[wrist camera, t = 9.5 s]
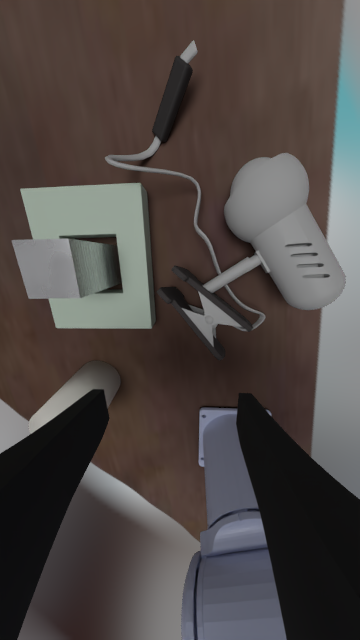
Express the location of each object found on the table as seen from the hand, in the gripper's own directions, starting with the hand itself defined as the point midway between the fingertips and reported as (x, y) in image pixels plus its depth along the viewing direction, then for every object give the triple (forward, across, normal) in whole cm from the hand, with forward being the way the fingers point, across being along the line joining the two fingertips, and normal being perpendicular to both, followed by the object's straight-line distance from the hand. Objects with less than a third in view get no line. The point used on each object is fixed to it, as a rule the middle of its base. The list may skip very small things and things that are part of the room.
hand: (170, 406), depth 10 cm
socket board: (+9, +7, -7) cm, 14 cm away
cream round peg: (+9, +10, +6) cm, 14 cm away
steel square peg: (+9, +7, -7) cm, 14 cm away
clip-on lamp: (+10, -3, -10) cm, 14 cm away
